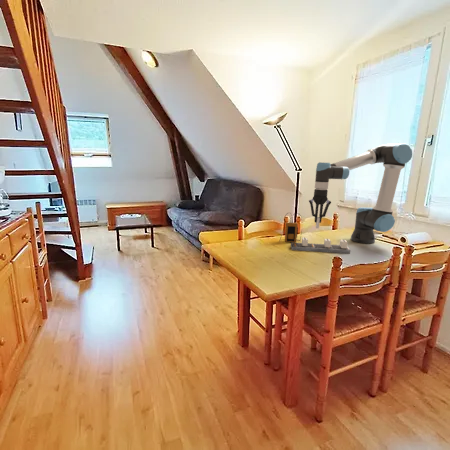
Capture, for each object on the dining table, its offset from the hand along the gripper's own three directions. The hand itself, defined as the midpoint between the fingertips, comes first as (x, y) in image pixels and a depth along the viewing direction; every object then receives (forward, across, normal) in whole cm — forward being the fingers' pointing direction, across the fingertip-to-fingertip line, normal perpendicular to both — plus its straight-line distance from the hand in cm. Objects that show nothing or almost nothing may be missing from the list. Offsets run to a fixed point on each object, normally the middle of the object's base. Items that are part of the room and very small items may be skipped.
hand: (317, 227), depth 177 cm
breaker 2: (+11, -7, 0) cm, 13 cm away
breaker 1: (+12, +7, 0) cm, 13 cm away
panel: (+14, -2, 0) cm, 14 cm away
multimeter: (+14, +14, -17) cm, 27 cm away
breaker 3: (+11, -16, 0) cm, 20 cm away
